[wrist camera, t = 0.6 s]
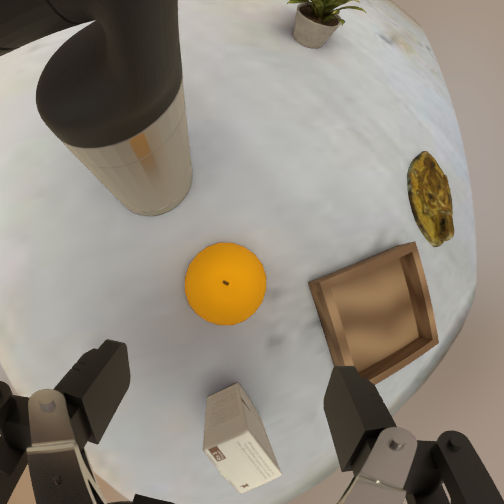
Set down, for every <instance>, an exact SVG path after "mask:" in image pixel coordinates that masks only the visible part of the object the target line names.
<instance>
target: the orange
mask: <svg viewBox="0 0 504 504" xmlns="http://www.w3.org/2000/svg"><path fill="white" fill-rule="evenodd" d="M265 291H266V274H265V271H264V268H263V265H262V263H261V262H260V261H259V259H258V258H257V257H256V255H255V254H253V253H252V252H251V251H249V250H248V249H246V248H245V247H243V246H240V245H237V244H234V243H217V244H214V245H211V246H208V247H206V248H205V249H204V250H202V251H201V252H200V253H198V254H197V255H196V257H195V258H194V259H193V261H192V262H191V263H190V265H189V267H188V270H187V274H186V277H185V293H186V297H187V300H188V303H189V305H190V306H191V307H192V308H193V310H194V311H195V312H196V314H198V315H199V316H200V317H202V318H203V319H205V320H206V321H208V322H211V323H214V324H217V325H235V324H237V323H240V322H243V321H245V320H246V319H248V318H249V317H250V316H251V315H253V314H254V313H255V312H256V310H257V309H258V307H259V306H260V305H261V303H262V301H263V298H264V295H265Z"/></svg>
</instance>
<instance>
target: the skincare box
mask: <svg viewBox="0 0 504 504" xmlns="http://www.w3.org/2000/svg"><path fill="white" fill-rule="evenodd" d="M203 451H204V452H205V454H206V455H207V456H208V457H209V459H210V460H211V461H212V462H213V464H214V465H215V466H216V467H217V469H218V471H219V472H220V474H221V475H222V476H223V477H224V478H225V479H226V480H228V481H229V482H230V483H231V485H232V486H233V487H234V488H235V489H236V490H237V491H238V492H239V493H244V492H246V491H249V490H251V489H253V488H256V487H258V486H260V485H262V484H264V483H267V482H269V481H271V480H273V479H275V478H277V477H278V476H280V475H282V473H281V471H280V468H279V466H278V463H277V461H276V458H275V455H274V452H273V450H272V447H271V444H270V442H269V439H268V437H267V434H266V431H265V428H264V425H263V423H262V420H261V418H260V416H259V414H258V413H257V411H256V409H255V407H254V406H253V404H252V402H251V401H250V399H249V398H248V396H247V394H246V393H245V391H244V390H243V388H242V387H241V386H240V384H239V383H236V384H234V385H232V386H229V387H227V388H225V389H223V390H221V391H219V392H217V393H215V394H213V395H211V396H208V397H207V403H206V415H205V429H204V442H203Z"/></svg>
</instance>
